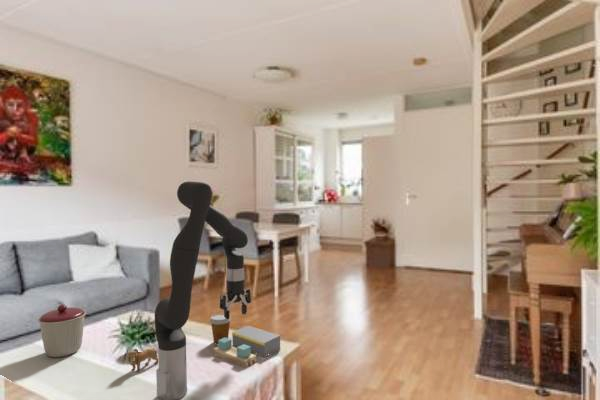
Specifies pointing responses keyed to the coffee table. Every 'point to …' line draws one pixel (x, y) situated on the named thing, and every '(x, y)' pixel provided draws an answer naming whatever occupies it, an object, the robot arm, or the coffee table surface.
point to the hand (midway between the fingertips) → (235, 316)
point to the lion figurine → (140, 357)
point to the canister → (62, 330)
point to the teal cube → (243, 351)
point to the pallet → (234, 356)
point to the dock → (257, 340)
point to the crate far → (224, 344)
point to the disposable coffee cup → (219, 327)
